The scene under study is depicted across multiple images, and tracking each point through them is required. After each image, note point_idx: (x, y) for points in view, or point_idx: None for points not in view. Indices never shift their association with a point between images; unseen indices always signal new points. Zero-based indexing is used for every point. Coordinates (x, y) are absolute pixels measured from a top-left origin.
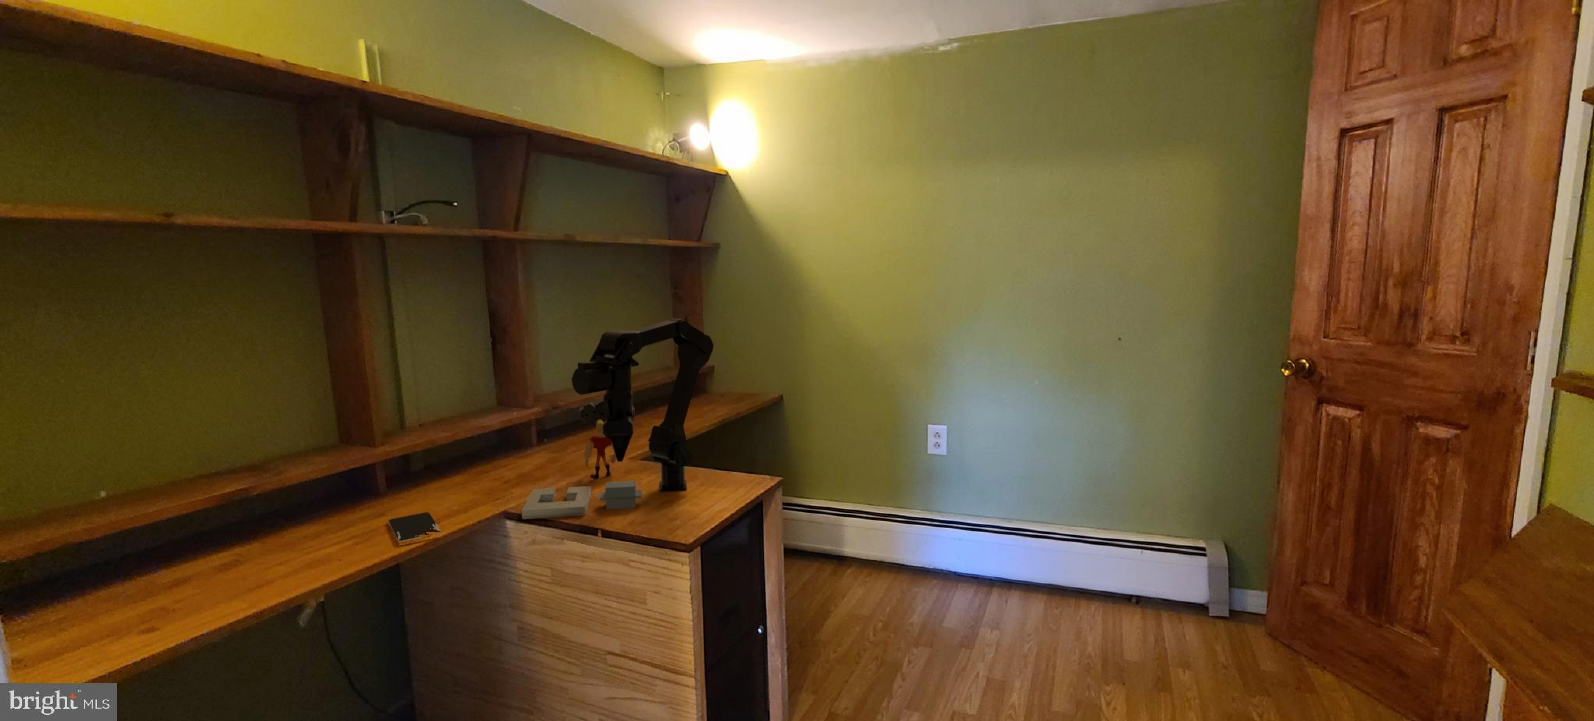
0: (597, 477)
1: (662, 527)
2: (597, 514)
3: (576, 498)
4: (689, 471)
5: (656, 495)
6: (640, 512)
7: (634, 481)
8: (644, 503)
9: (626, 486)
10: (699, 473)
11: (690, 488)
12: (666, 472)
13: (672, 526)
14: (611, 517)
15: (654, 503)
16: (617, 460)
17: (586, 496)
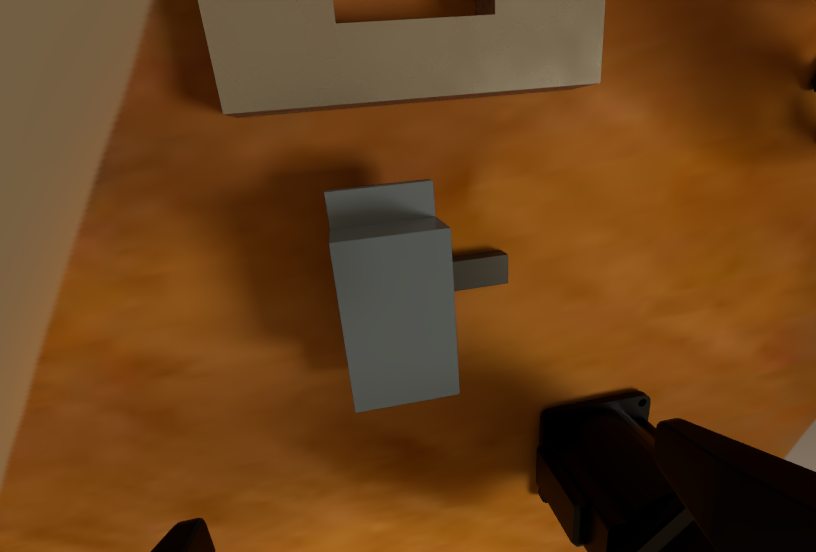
0: (813, 82)
1: (102, 495)
2: (253, 185)
3: (378, 26)
4: None
5: (496, 402)
6: (284, 380)
7: (449, 390)
8: None
9: (358, 366)
10: None
11: None
12: (588, 498)
13: (119, 525)
14: (212, 265)
15: (397, 413)
16: (165, 536)
17: (411, 91)
